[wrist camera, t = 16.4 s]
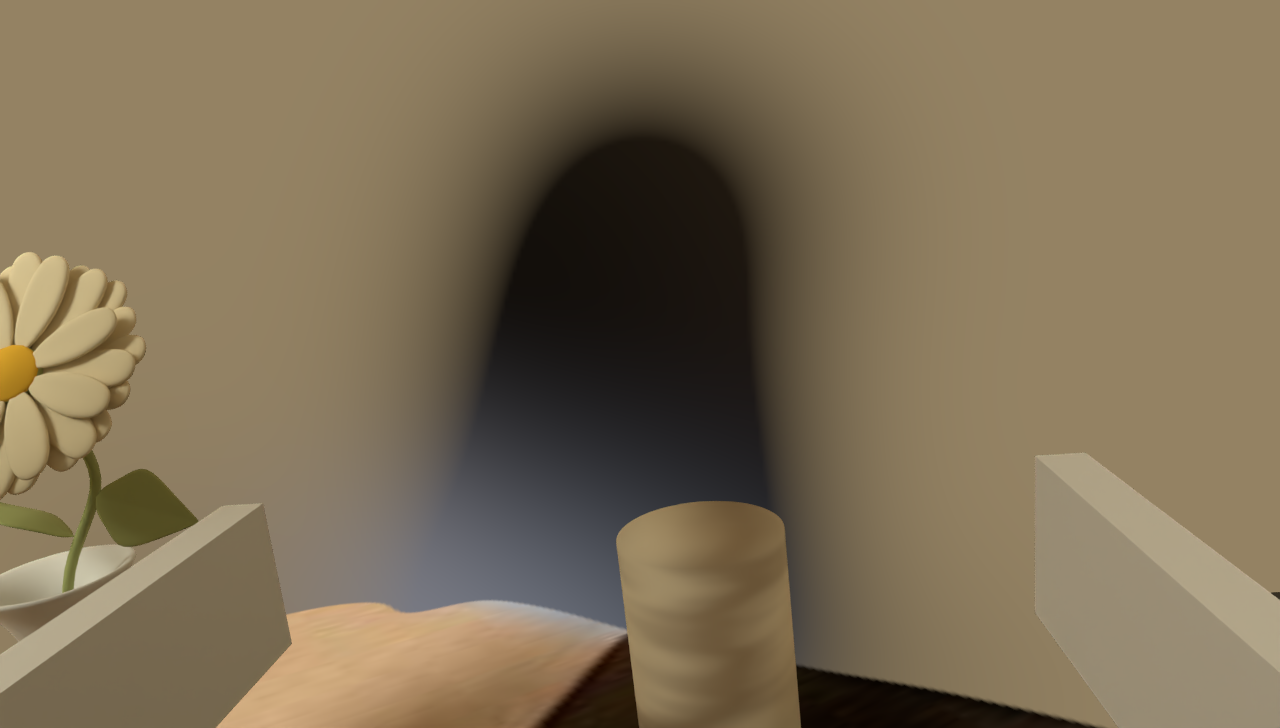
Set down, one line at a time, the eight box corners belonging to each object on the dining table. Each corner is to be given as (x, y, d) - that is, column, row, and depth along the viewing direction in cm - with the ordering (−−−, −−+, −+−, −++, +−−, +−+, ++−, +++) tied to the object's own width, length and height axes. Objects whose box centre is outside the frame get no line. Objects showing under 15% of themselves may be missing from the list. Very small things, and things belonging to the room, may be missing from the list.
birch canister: (645, 888, 30) (605, 573, 27) (658, 774, 35) (626, 506, 33) (817, 886, 29) (790, 562, 27) (801, 769, 35) (779, 496, 33)
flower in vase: (-110, 989, 30) (-350, 295, 25) (177, 778, 40) (44, 255, 35) (127, 1119, 24) (-123, 262, 20) (390, 836, 34) (268, 225, 30)
